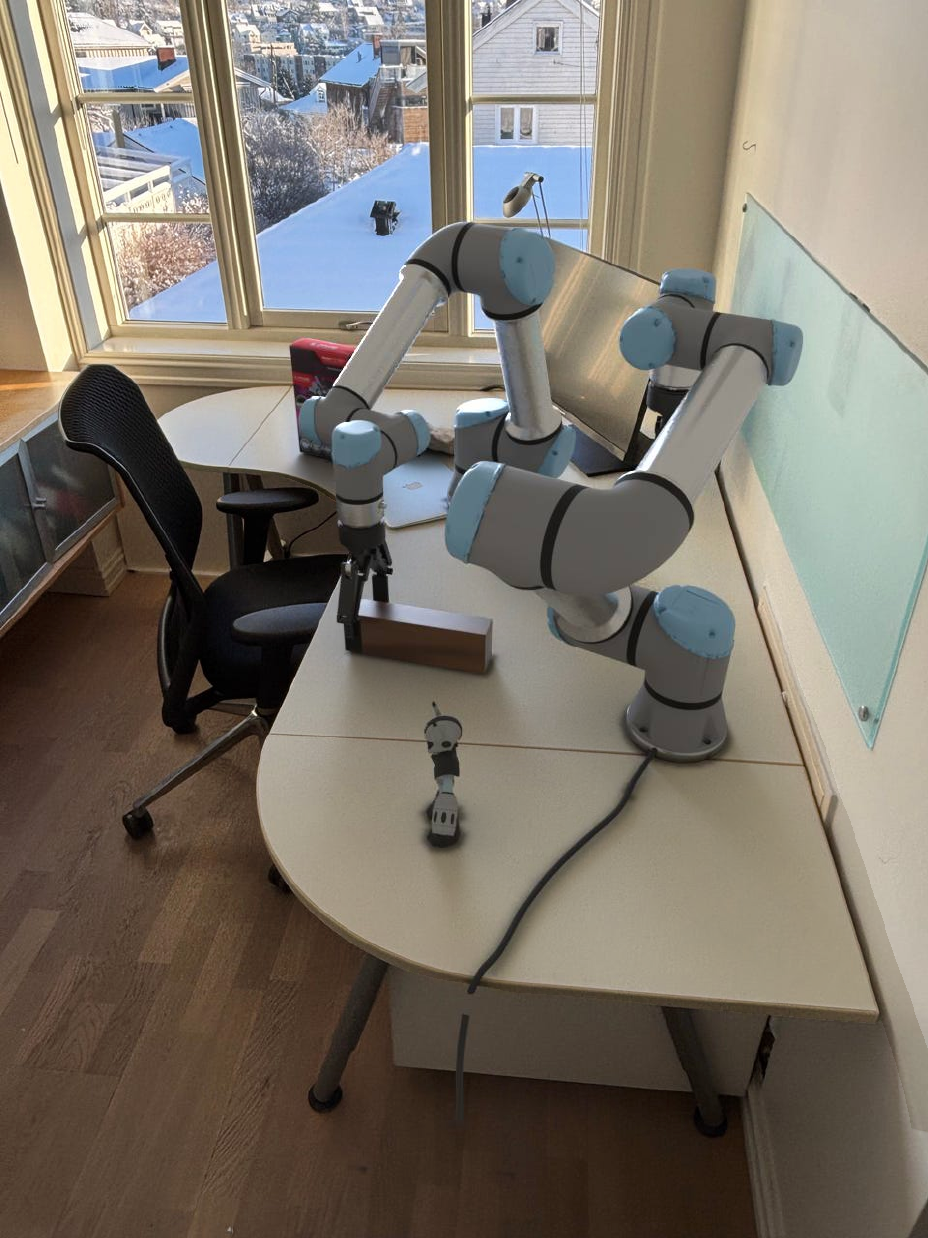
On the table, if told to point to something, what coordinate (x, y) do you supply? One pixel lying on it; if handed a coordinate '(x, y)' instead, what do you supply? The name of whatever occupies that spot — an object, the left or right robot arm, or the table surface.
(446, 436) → the stone
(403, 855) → the table surface
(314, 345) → the graphics card box
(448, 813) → the robot
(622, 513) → the right robot arm
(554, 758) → the table surface
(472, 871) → the table surface
